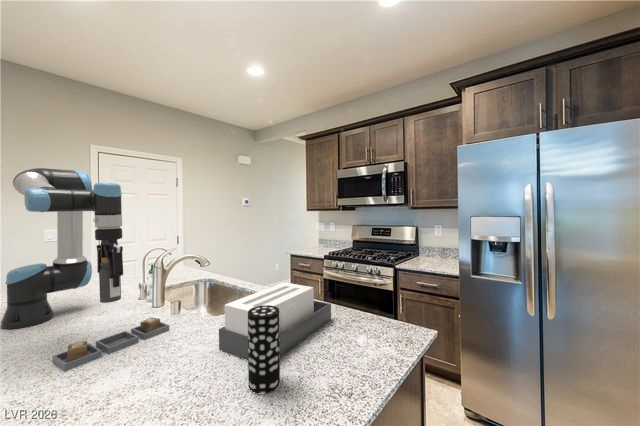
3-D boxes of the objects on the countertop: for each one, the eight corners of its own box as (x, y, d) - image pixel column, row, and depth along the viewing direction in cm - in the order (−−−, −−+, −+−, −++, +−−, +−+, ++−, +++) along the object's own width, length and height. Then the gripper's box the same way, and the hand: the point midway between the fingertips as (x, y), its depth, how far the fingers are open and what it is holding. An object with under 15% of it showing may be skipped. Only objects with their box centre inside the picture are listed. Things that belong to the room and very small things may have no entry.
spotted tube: (251, 375, 80) (250, 305, 79) (280, 374, 80) (280, 304, 80) (246, 395, 71) (245, 317, 71) (279, 393, 72) (278, 316, 71)
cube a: (140, 334, 105) (140, 321, 105) (150, 328, 109) (150, 317, 109) (150, 335, 103) (149, 323, 103) (160, 330, 108) (159, 318, 108)
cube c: (68, 359, 88) (68, 344, 88) (87, 354, 91) (86, 340, 90) (67, 365, 84) (67, 350, 84) (87, 360, 87) (86, 345, 87)
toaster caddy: (219, 349, 94) (218, 329, 94) (290, 311, 128) (290, 295, 128) (266, 368, 83) (266, 344, 83) (331, 320, 118) (330, 303, 117)
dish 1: (52, 364, 86) (52, 356, 86) (89, 350, 94) (89, 343, 94) (64, 373, 81) (64, 364, 81) (102, 358, 89) (101, 350, 89)
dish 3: (131, 335, 105) (130, 328, 105) (156, 326, 113) (155, 320, 113) (144, 341, 100) (144, 334, 100) (169, 331, 108) (169, 325, 108)
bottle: (109, 303, 93) (108, 258, 93) (95, 302, 95) (94, 258, 94) (125, 297, 99) (124, 255, 99) (111, 297, 100) (110, 255, 100)
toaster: (260, 363, 86) (259, 314, 85) (225, 350, 94) (224, 304, 94) (319, 322, 116) (319, 285, 115) (288, 315, 124) (288, 280, 124)
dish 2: (95, 348, 95) (95, 341, 95) (125, 337, 103) (125, 330, 103) (108, 355, 91) (108, 348, 90) (139, 343, 98) (138, 336, 98)
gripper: (83, 228, 98) (85, 293, 98) (108, 229, 88) (110, 302, 89) (108, 226, 104) (110, 288, 105) (134, 227, 95) (136, 295, 95)
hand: (110, 294), depth 97 cm, fingers closed on bottle, 6 cm apart
